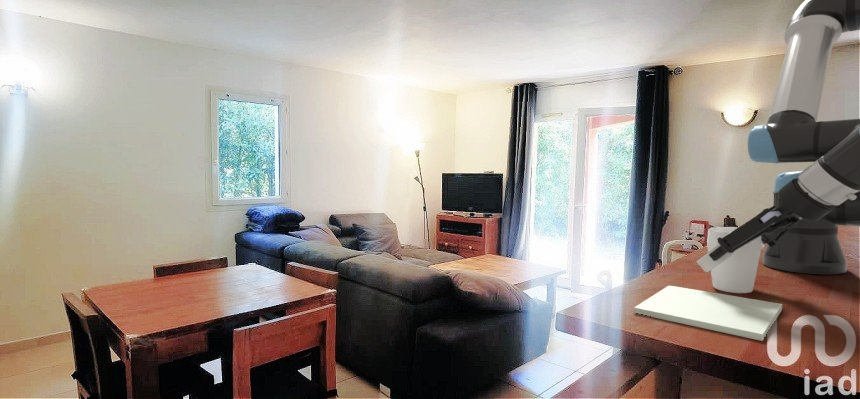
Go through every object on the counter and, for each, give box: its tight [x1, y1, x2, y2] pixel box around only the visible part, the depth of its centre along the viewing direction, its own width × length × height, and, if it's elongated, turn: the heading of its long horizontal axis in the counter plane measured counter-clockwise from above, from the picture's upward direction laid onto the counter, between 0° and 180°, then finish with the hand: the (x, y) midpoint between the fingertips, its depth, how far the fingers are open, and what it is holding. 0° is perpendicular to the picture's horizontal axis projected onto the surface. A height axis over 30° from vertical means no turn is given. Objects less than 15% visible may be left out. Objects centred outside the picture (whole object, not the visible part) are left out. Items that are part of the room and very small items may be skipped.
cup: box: [706, 226, 763, 294], centre depth 88 cm, size 9×9×12 cm
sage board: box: [633, 285, 783, 342], centre depth 76 cm, size 18×18×1 cm
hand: (719, 262), depth 90 cm, fingers open, 12 cm apart
